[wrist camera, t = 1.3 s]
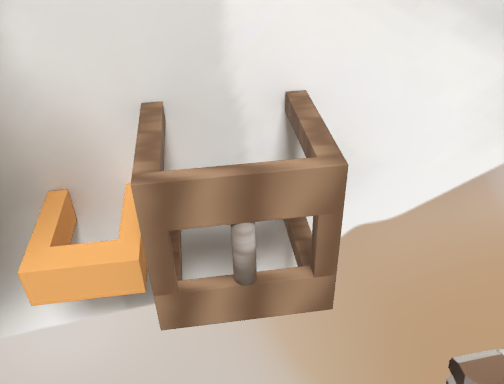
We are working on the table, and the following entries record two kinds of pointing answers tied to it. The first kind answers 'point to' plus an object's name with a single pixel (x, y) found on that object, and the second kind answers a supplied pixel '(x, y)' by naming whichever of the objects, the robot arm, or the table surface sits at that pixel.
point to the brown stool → (241, 223)
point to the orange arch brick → (81, 256)
